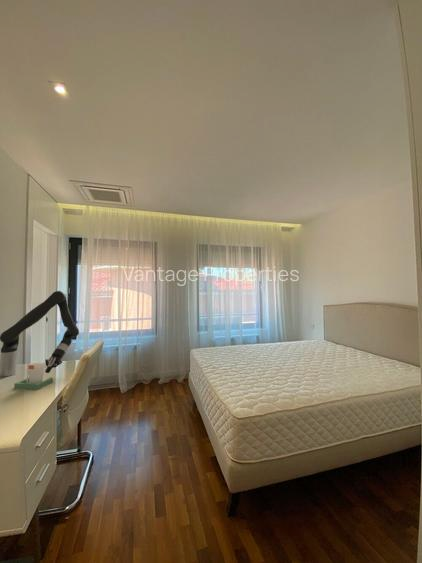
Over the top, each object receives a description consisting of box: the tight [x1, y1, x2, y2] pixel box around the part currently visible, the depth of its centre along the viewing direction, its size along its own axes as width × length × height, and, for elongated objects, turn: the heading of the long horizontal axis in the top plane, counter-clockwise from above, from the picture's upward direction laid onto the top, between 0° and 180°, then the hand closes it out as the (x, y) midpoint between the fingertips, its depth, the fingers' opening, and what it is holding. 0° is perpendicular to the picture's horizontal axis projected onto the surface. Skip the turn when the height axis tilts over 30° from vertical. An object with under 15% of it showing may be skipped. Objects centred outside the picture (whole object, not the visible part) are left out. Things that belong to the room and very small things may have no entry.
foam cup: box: [28, 362, 46, 384], centre depth 154 cm, size 10×9×13 cm
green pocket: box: [13, 364, 54, 391], centre depth 153 cm, size 16×13×15 cm
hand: (46, 372), depth 163 cm, fingers closed
